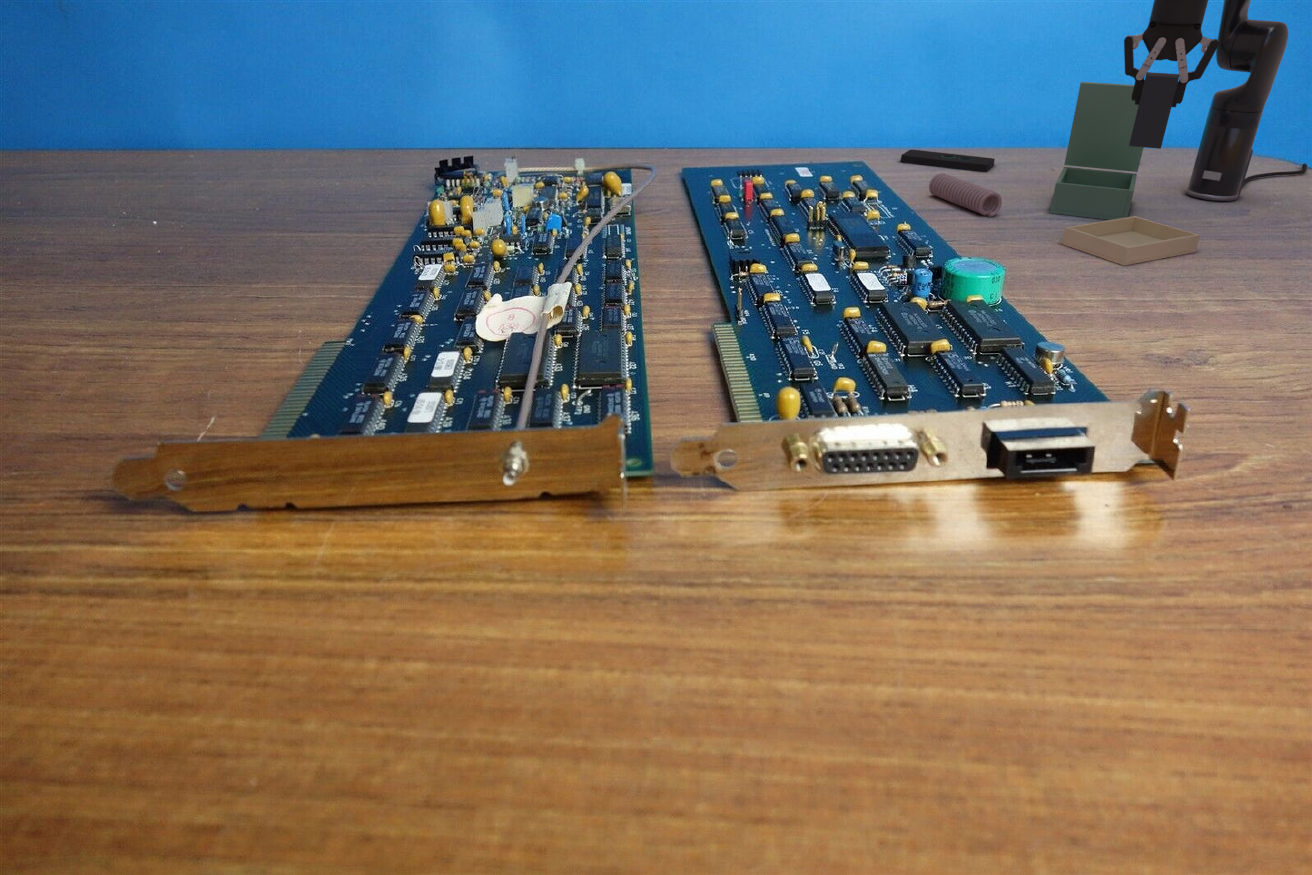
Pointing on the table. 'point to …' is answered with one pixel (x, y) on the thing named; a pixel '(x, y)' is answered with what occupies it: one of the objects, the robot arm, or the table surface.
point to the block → (1154, 110)
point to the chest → (1093, 193)
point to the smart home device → (948, 160)
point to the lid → (1104, 128)
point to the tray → (1130, 240)
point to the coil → (965, 194)
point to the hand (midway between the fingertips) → (1155, 104)
